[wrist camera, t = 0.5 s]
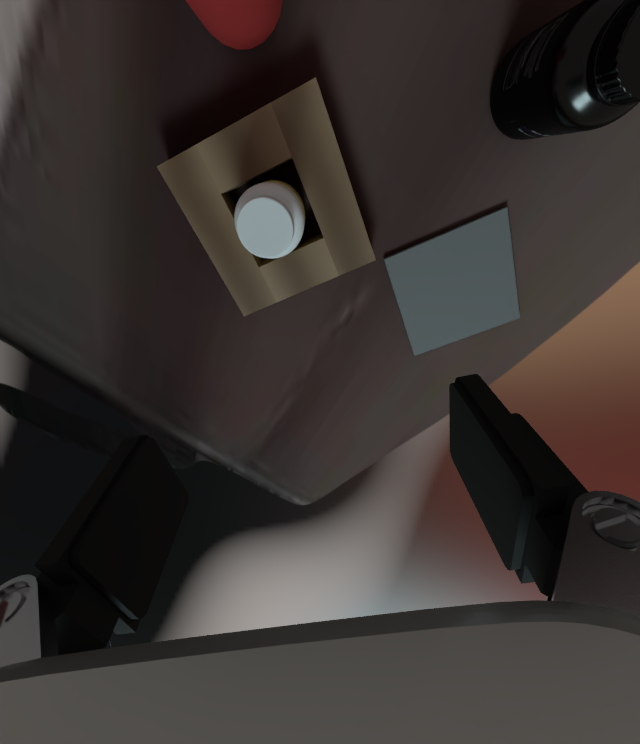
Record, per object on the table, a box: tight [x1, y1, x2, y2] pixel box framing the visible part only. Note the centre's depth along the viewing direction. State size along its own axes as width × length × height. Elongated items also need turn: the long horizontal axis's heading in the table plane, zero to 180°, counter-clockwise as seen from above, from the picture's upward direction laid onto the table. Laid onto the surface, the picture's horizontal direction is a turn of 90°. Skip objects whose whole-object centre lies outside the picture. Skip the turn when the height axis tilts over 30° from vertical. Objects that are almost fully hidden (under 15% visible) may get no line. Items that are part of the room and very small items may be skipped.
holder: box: [157, 77, 376, 316], centre depth 30 cm, size 14×14×3 cm
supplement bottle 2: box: [490, 0, 640, 140], centre depth 22 cm, size 7×7×12 cm
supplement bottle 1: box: [234, 180, 305, 259], centre depth 27 cm, size 5×5×10 cm
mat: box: [384, 207, 520, 356], centre depth 35 cm, size 12×12×1 cm
